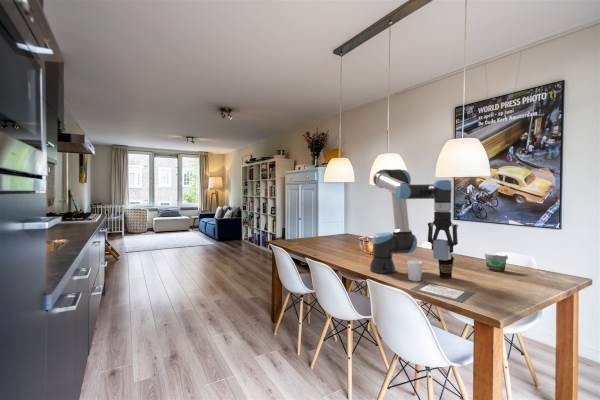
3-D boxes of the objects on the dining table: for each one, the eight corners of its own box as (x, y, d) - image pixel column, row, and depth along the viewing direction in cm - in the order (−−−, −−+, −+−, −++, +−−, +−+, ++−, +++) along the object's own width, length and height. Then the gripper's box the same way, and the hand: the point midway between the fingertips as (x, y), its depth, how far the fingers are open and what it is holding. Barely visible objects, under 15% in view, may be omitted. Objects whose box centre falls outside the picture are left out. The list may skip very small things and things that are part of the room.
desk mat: (410, 289, 147) (410, 289, 147) (425, 281, 159) (425, 281, 159) (462, 302, 130) (462, 302, 130) (474, 292, 142) (474, 292, 142)
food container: (486, 271, 179) (486, 255, 179) (484, 268, 185) (484, 253, 184) (510, 273, 174) (510, 256, 174) (507, 270, 180) (507, 254, 180)
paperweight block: (433, 258, 144) (433, 240, 144) (438, 256, 148) (438, 238, 148) (446, 260, 140) (446, 241, 139) (450, 258, 144) (450, 240, 144)
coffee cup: (456, 280, 162) (456, 257, 161) (440, 279, 163) (440, 256, 163) (451, 275, 170) (451, 253, 170) (436, 275, 172) (436, 253, 172)
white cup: (415, 282, 159) (415, 264, 158) (403, 278, 166) (404, 261, 165) (425, 280, 162) (425, 262, 162) (413, 276, 169) (414, 259, 169)
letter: (419, 289, 146) (419, 289, 146) (429, 283, 155) (429, 283, 155) (455, 298, 134) (455, 298, 134) (464, 291, 143) (464, 291, 143)
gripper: (420, 210, 148) (419, 256, 148) (461, 212, 134) (460, 262, 134) (426, 210, 153) (426, 253, 153) (466, 211, 139) (465, 259, 140)
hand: (442, 257), depth 144 cm, fingers closed on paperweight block, 6 cm apart
